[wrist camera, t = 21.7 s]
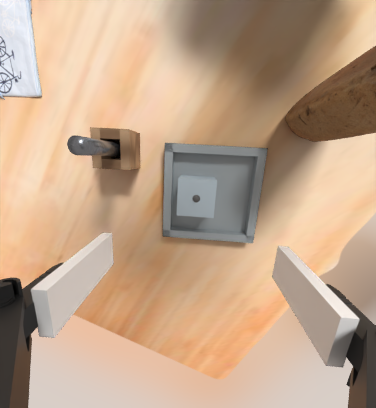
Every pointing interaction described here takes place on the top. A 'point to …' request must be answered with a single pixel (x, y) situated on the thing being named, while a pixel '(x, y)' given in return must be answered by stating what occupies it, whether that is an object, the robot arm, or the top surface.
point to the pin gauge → (92, 147)
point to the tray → (225, 192)
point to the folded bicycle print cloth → (17, 51)
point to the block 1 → (196, 196)
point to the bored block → (127, 148)
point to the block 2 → (339, 104)
